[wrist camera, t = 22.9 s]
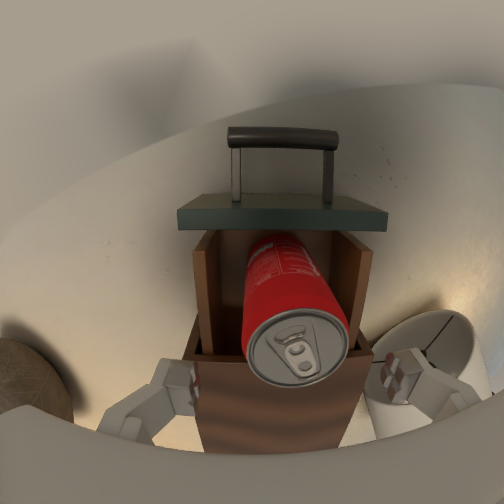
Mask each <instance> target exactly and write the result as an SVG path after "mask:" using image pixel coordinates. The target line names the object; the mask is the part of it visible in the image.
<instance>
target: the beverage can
mask: <svg viewBox="0 0 504 504" xmlns="http://www.w3.org/2000/svg"><path fill="white" fill-rule="evenodd" d="M241 342H242V350H243V353H244V356H245V358H246V359H247V362H248V365H249V367H250V368H251V370H252V371H253V373H254V374H255V375H256V376H257V377H258V378H260V379H261V380H263V381H264V382H266V383H268V384H271V385H274V386H277V387H283V388H299V387H305V386H309V385H312V384H315V383H317V382H319V381H322V380H323V379H325V378H327V377H328V376H330V375H331V374H332V373H333V372H335V371H336V370H337V369H338V367H339V366H340V365H341V364H342V362H343V361H344V360H345V358H346V356H347V352H348V348H349V327H348V322H347V319H346V317H345V315H344V313H343V311H342V309H341V307H340V306H339V304H338V302H337V300H336V298H335V297H334V295H333V293H332V291H331V290H330V288H329V286H328V284H327V283H326V281H325V279H324V277H323V276H322V274H321V272H320V271H319V269H318V267H317V265H316V264H315V262H314V260H313V259H312V257H311V255H310V254H309V252H308V250H307V249H306V247H305V246H304V245H303V244H302V243H301V242H300V241H299V240H297V239H296V238H294V237H291V236H288V235H283V234H277V235H271V236H268V237H265V238H263V239H262V240H260V241H259V242H257V243H256V244H255V245H254V246H253V248H252V249H251V251H250V253H249V255H248V258H247V263H246V277H245V293H244V308H243V324H242V340H241Z"/></svg>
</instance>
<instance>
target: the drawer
mask: <svg viewBox="0 0 504 504" xmlns="http://www.w3.org/2000/svg"><path fill="white" fill-rule="evenodd" d="M227 138H228V147H229V148H231V181H232V194H202V195H200V196H199V197H197V198H195V199H194V200H192V201H191V202H189V203H187V204H186V205H184V206H183V207H181V208H180V209H178V210H177V218H178V230H207V231H206V232H205V234H204V235H203V237H202V238H201V240H200V241H199V243H198V244H197V246H196V247H195V249H194V250H193V265H194V277H195V288H196V299H197V308H198V317H199V326H200V335H201V343H202V350H203V355H222V356H244V353H243V350H242V342H241V340H242V324H243V308H244V293H245V277H246V263H247V258H248V255H249V253H250V251H251V249H252V248H253V246H254V245H255V244H256V243H257V242H259V241H260V240H262V239H263V238H265V237H268V236H271V235H277V234H283V235H288V236H291V237H294V238H296V239H297V240H299V241H300V242H301V243H302V244H303V245H304V246H305V247H306V249H307V250H308V252H309V254H310V255H311V257H312V259H313V260H314V262H315V264H316V265H317V267H318V269H319V271H320V272H321V274H322V276H323V277H324V279H325V281H326V283H327V284H328V286H329V288H330V290H331V291H332V293H333V295H334V297H335V298H336V300H337V302H338V304H339V306H340V307H341V309H342V311H343V313H344V315H345V317H346V319H347V322H348V327H349V348H348V351H353V350H354V346H355V342H356V338H357V334H358V330H359V326H360V321H361V316H362V312H363V307H364V302H365V297H366V291H367V286H368V280H369V274H370V267H371V261H372V254H373V251H372V250H370V249H369V248H368V247H367V246H365V245H364V244H363V243H362V242H360V241H359V240H358V239H357V238H355V237H354V236H353V235H352V234H350V233H349V232H348V231H378V232H386V231H387V222H388V212H385V211H383V210H381V209H378V208H376V207H373V206H371V205H369V204H366V203H364V202H361V201H359V200H356V199H353V198H351V197H348V196H336V195H333V174H334V151H336V150H337V148H338V144H339V137H338V133H337V132H336V131H332V130H321V129H308V128H290V127H229V128H228V135H227ZM241 148H290V149H311V150H325V151H323V191H322V195H313V194H265V193H242V194H241Z"/></svg>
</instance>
